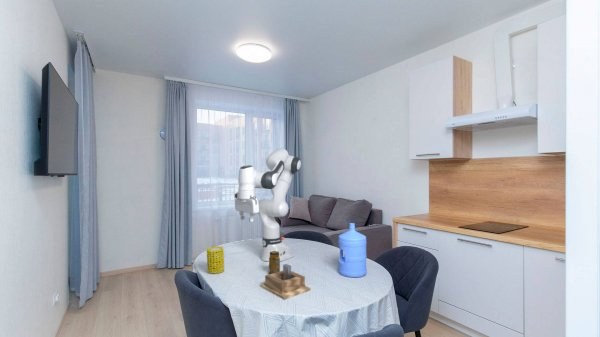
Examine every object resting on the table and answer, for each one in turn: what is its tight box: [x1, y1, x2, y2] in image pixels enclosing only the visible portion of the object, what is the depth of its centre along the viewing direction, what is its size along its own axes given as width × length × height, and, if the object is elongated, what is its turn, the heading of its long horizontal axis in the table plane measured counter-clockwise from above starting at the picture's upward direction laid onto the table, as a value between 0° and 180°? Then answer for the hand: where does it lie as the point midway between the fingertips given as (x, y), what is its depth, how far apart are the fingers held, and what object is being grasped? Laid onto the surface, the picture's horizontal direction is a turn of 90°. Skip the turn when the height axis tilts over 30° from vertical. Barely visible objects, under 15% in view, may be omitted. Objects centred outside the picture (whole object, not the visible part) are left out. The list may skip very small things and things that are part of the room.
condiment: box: [266, 251, 281, 275], centre depth 164 cm, size 7×8×12 cm
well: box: [259, 270, 311, 301], centre depth 144 cm, size 16×20×6 cm
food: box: [206, 245, 225, 275], centre depth 168 cm, size 15×12×10 cm
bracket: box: [282, 263, 292, 281], centre depth 144 cm, size 5×4×10 cm
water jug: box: [338, 222, 368, 278], centre depth 165 cm, size 16×16×28 cm
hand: (246, 220), depth 158 cm, fingers open, 8 cm apart
